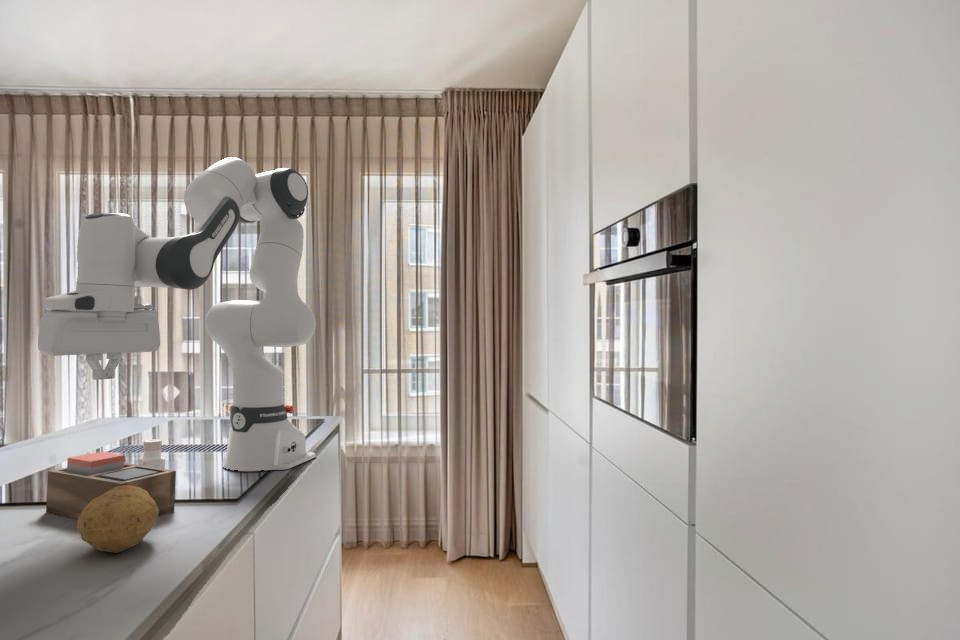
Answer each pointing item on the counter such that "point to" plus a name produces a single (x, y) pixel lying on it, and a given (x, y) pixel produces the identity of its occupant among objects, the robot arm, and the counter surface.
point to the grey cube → (128, 474)
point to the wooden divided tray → (105, 489)
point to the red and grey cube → (95, 463)
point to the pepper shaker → (152, 454)
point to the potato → (118, 518)
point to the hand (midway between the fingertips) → (103, 379)
